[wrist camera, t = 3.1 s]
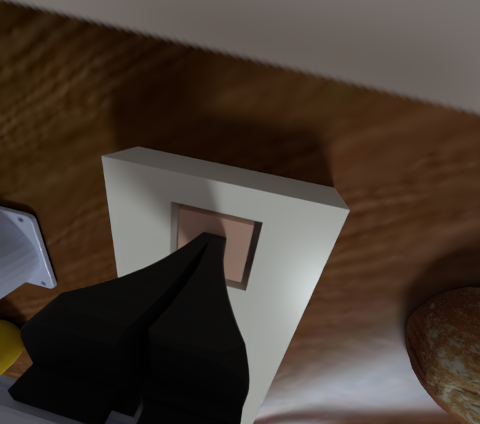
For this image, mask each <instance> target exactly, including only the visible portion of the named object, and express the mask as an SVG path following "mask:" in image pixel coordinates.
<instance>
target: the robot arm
mask: <svg viewBox="0 0 480 424" xmlns="http://www.w3.org/2000/svg"><path fill="white" fill-rule="evenodd" d="M226 241H227V239H226V237H223V236H219V235H215V234H211V233H207V232H203V233H201V234H200V235H198V236H197V237H196V238H194V239H193V240H191V241H190V242H188V243H187V244H186V245H184V246H183V247H181V248H179V249H178V250H176V251H175V252H173V253H171V254H170V255H168V256H166V257H165V258H163V259H161V260H159V261H157V262H155V263H153V264H151V265H149V266H147V267H145V268H142V269H140V270H137V271H135V272H132V273H130V274H127V275H124V276H122V277H119V278H116V279H113V280H110V281H106V282H103V283H100V284H96V285H93V286H89V287H85V288H80V289H76V290H72V291H68V292H64V293H61V294H60V295H58V296H57V297H56V298H55V299H54V300H52V301H51V302H50V303H49V304H48V305H46V306H45V307H44V308H43V309H42V310H40V311H39V312H38V313H37V314H36V315H34V316H33V317H32V318H31V319H30V320H29V321H27V322H26V323H25V324H24V325H23V326H22V327H21V335H20V336H21V339H22V342H23V344H24V346H25V348H26V350H27V352H28V354H29V356H30V358H31V360H32V362H33V364H32V365H31V366H30V367H29V368H28V369H27V370H26V371H25V372H24V374H23V375H22V376H21V377H20V378H19V379H18V380H16V379H12V378H9V377H6V376H3V375H0V424H241V418H242V410H243V406H244V403H245V401H246V398H247V395H248V392H249V383H250V377H249V365H248V358H247V351H246V344H245V342H244V339H243V337H242V335H241V332H240V330H239V327H238V325H237V322H236V319H235V316H234V313H233V310H232V306H231V303H230V300H229V296H228V291H227V286H226V281H225V273H224V253H225V247H226ZM25 282H29V283H32V284H36V285H40V286H43V287H47V288H54V287H55V286H56V285H57V283H56V280H55V277H54V273H53V270H52V267H51V264H50V261H49V258H48V255H47V252H46V249H45V245H44V242H43V239H42V236H41V233H40V230H39V227H38V224H37V221H36V218H35V217H34V216H33V215H32V214H29V213H26V212H22V211H17V210H13V209H9V208H5V207H1V206H0V299H1V298H3V297H4V296H6V295H7V294H9V293H10V292H11V291H13V290H14V289H16V288H17V287H19V286H20V285H22V284H23V283H25Z"/></svg>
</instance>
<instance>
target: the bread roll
mask: <svg viewBox="0 0 480 424" xmlns="http://www.w3.org/2000/svg"><path fill="white" fill-rule="evenodd" d="M406 328H407V332H406V347H407V352H408V355H409V358H410V362H411V366H412V369H413V371H414V372H415V374H416V376H417V378H418V380H419V381H420V383H421V385H422V386H423V387H424V389H425V390H426V391H427V393H428V394H429V395H430V396H431V397H432V399H433V400H434V401H435V402H436V403H437V404H438V405H439V406H440V407H441V408H442V409H444V410H445V411H446V412H447V413H448V414H450V415H451V416H453V417H454V418H455V419H456V420H458V421H459V422H460V423H462V424H480V287H478V288H475V287H463V288H459V289H455V290H449V291H446V292H443V293H441V294H439V295H437V296H434V297H433V298H431V299H430V300H428V301H427V302H425V303H424V304H423V305H421V306H420V307H419V308H418V309H416V310H415V311H414V312H413V314H412V315H411V316H410V317H409V318H408V325H407V327H406Z"/></svg>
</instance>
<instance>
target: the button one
mask: <svg viewBox="0 0 480 424" xmlns="http://www.w3.org/2000/svg"><path fill="white" fill-rule="evenodd" d="M254 223H255V221H254V220H250V219H246V218H241V217H237V216H233V215H228V214H224V213H220V212H215V211H211V210H206V209H202V208H198V207H193V206H189V205H185V204H184V205H183V206H182V207H181V208H180V209H179V234H178V249H179V248H181V247H183V246H184V245H186V244H187V243H188V242H190V241H191V240H193V239H194V238H196V237H197V236H198V235H200V234H201V233H203V232H207V233H211V234H215V235H219V236H223V237H226V239H227V241H226V247H225V253H224V273H225V279H229V280H233V281H237V282H241V280H242V276H243V272H244V267H245V263H246V258H247V254H248V250H249V245H250V241H251V237H252V232H253V228H254Z"/></svg>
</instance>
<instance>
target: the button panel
mask: <svg viewBox="0 0 480 424" xmlns="http://www.w3.org/2000/svg"><path fill="white" fill-rule="evenodd" d="M102 162H103V169H104V177H105V184H106V191H107V199H108V206H109V214H110V221H111V228H112V236H113V243H114V251H115V258H116V265H117V273H118V278H119V277H122V276H124V275H127V274H130V273H132V272H135V271H137V270H140V269H142V268H145V267H147V266H149V265H151V264H153V263H155V262H157V261H159V260H161V259H163V258H165V257H166V256H168V255H170V254H171V253H173V252H175V251H176V250H178V234H179V209H180V208H181V207H182V206H183V205H184V204H185V205H189V206H193V207H198V208H202V209H206V210H211V211H215V212H220V213H224V214H228V215H233V216H237V217H241V218H246V219H250V220H254V221H255V223H254V228H253V232H252V237H251V241H250V245H249V250H248V254H247V258H246V263H245V267H244V272H243V276H242V280H241V282H237V281H233V280H229V279H225V281H226V286H227V291H228V296H229V300H230V303H231V306H232V310H233V313H234V316H235V319H236V322H237V325H238V327H239V330H240V332H241V335H242V337H243V339H244V342H245V344H246V351H247V358H248V365H249V377H250V383H249V392H248V395H247V398H246V401H245V403H244V406H243V410H242V418H241V424H253V422H254V420H255V418H256V416H257V413H258V411H259V409H260V407H261V405H262V402H263V400H264V398H265V396H266V394H267V391H268V389H269V387H270V385H271V383H272V380H273V378H274V376H275V374H276V372H277V369H278V367H279V365H280V363H281V361H282V358H283V356H284V354H285V352H286V350H287V347H288V345H289V343H290V341H291V339H292V336H293V334H294V332H295V330H296V328H297V325H298V323H299V321H300V319H301V317H302V314H303V312H304V310H305V308H306V306H307V303H308V301H309V299H310V297H311V294H312V292H313V290H314V288H315V286H316V283H317V281H318V279H319V277H320V275H321V272H322V270H323V268H324V266H325V264H326V261H327V259H328V257H329V255H330V253H331V250H332V248H333V246H334V244H335V242H336V239H337V237H338V235H339V233H340V231H341V228H342V226H343V224H344V222H345V220H346V217H347V215H348V213H349V211H350V210H349V208H348V207H347V205H346V204H345V202H344V201H343V199H342V198H341V196H340V195H339V194H338V192H337V191H336V189H335V188H333V187H328V186H323V185H319V184H314V183H309V182H304V181H300V180H295V179H290V178H285V177H281V176H276V175H271V174H266V173H262V172H257V171H252V170H248V169H243V168H238V167H233V166H229V165H224V164H219V163H214V162H210V161H205V160H200V159H195V158H191V157H186V156H181V155H176V154H172V153H167V152H162V151H157V150H153V149H148V148H143V147H134V148H130V149H126V150H123V151H119V152H115V153H111V154H107V155H104V156H102Z"/></svg>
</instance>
